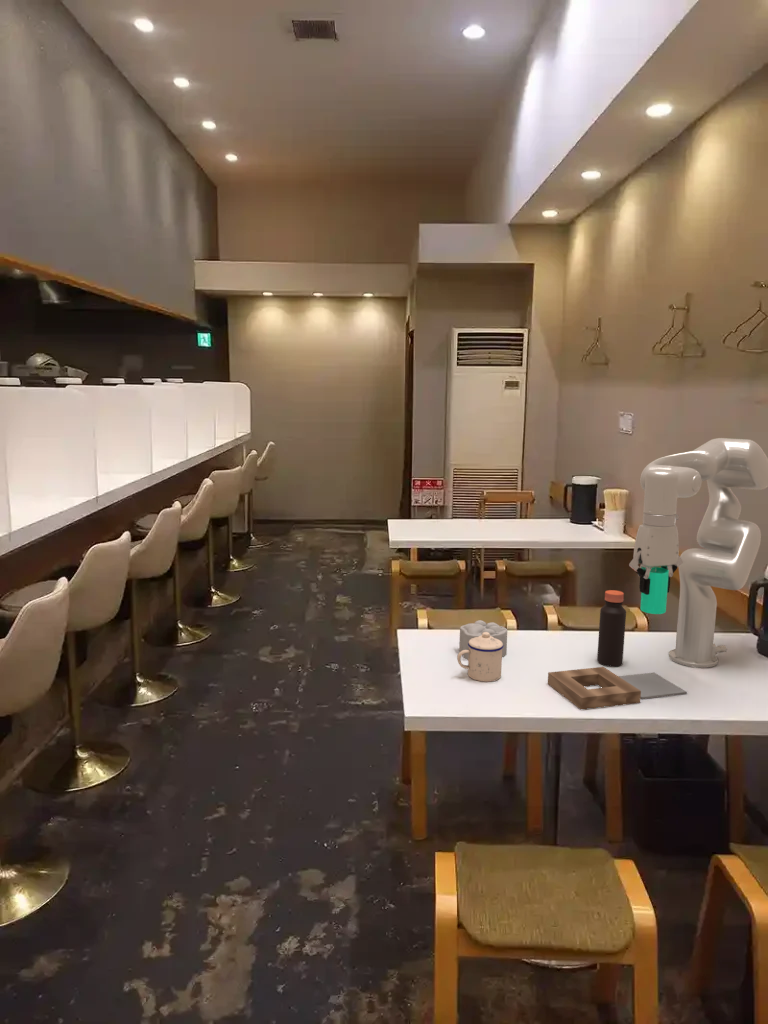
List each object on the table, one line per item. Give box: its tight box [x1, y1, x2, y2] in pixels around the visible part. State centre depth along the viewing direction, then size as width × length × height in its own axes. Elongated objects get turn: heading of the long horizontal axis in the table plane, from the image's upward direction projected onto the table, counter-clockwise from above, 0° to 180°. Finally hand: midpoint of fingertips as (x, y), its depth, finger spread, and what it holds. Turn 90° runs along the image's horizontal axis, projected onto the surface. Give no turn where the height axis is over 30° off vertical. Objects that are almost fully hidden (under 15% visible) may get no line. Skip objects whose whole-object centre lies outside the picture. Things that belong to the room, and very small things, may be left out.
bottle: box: [596, 589, 627, 668], centre depth 199 cm, size 7×7×20 cm
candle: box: [639, 566, 669, 615], centre depth 181 cm, size 6×6×12 cm
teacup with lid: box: [456, 632, 503, 683], centre depth 189 cm, size 12×9×12 cm
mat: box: [618, 672, 688, 700], centre depth 185 cm, size 13×13×1 cm
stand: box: [547, 666, 641, 710], centre depth 180 cm, size 16×16×3 cm
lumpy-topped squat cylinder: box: [458, 619, 508, 660], centre depth 206 cm, size 10×13×9 cm
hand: (654, 591), depth 181 cm, fingers closed on candle, 4 cm apart
